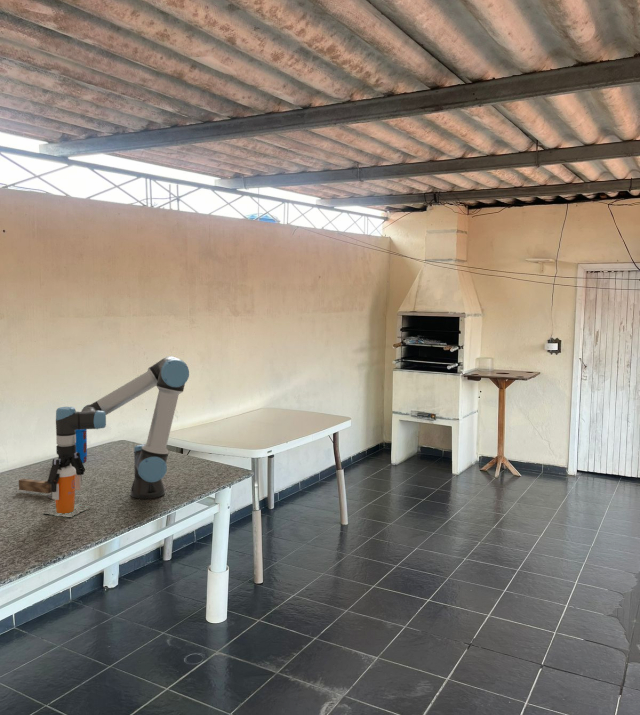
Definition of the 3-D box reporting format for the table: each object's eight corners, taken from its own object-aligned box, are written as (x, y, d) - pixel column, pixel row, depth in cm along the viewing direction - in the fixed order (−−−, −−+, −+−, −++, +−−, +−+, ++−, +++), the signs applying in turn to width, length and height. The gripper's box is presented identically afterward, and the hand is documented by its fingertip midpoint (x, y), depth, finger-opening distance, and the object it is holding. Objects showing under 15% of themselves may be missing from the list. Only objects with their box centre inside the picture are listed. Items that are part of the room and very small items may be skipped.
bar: (63, 492, 286) (63, 479, 285) (55, 495, 281) (55, 482, 281) (24, 487, 292) (24, 475, 291) (17, 490, 287) (16, 477, 287)
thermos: (61, 462, 340) (60, 416, 338) (74, 458, 351) (73, 413, 348) (78, 464, 337) (77, 418, 335) (91, 460, 348) (90, 414, 345)
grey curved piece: (65, 495, 286) (65, 484, 286) (56, 499, 281) (55, 488, 280) (54, 493, 288) (54, 483, 288) (44, 497, 282) (44, 486, 282)
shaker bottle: (52, 515, 259) (51, 467, 257) (55, 508, 267) (54, 461, 265) (75, 513, 261) (74, 466, 259) (77, 506, 270) (76, 460, 268)
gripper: (78, 437, 276) (79, 485, 278) (36, 450, 252) (38, 502, 254) (93, 438, 274) (93, 487, 276) (52, 452, 250) (53, 504, 252)
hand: (67, 494), depth 265 cm, fingers open, 13 cm apart
